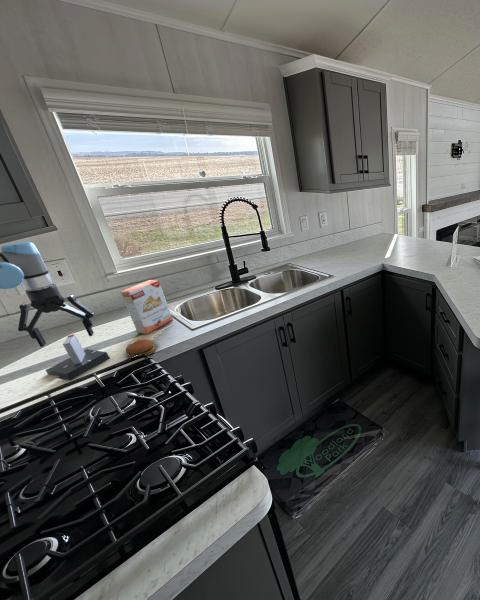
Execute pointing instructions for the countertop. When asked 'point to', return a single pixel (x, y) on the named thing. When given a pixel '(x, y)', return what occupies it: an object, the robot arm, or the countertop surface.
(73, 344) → the tap handle
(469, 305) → the countertop surface
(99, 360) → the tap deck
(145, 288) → the cracker box
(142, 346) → the burger
